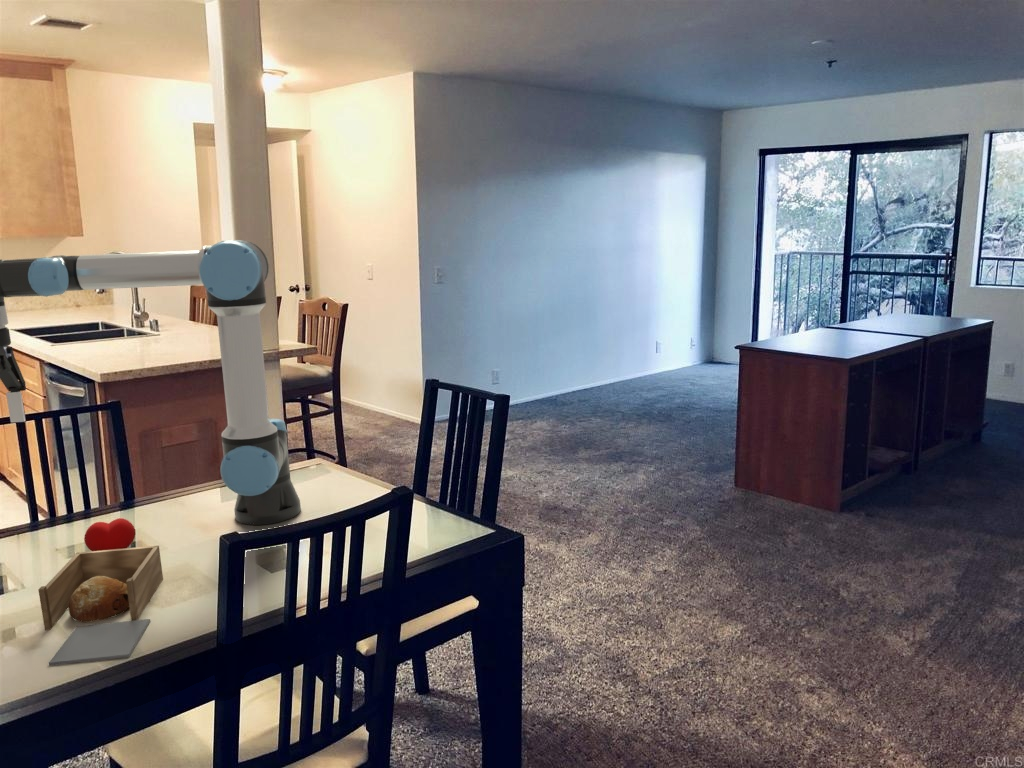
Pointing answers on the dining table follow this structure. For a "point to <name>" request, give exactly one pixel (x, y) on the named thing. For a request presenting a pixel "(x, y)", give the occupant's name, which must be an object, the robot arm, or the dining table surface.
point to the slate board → (100, 642)
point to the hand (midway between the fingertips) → (3, 429)
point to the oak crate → (122, 564)
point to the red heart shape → (110, 535)
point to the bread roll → (98, 599)
